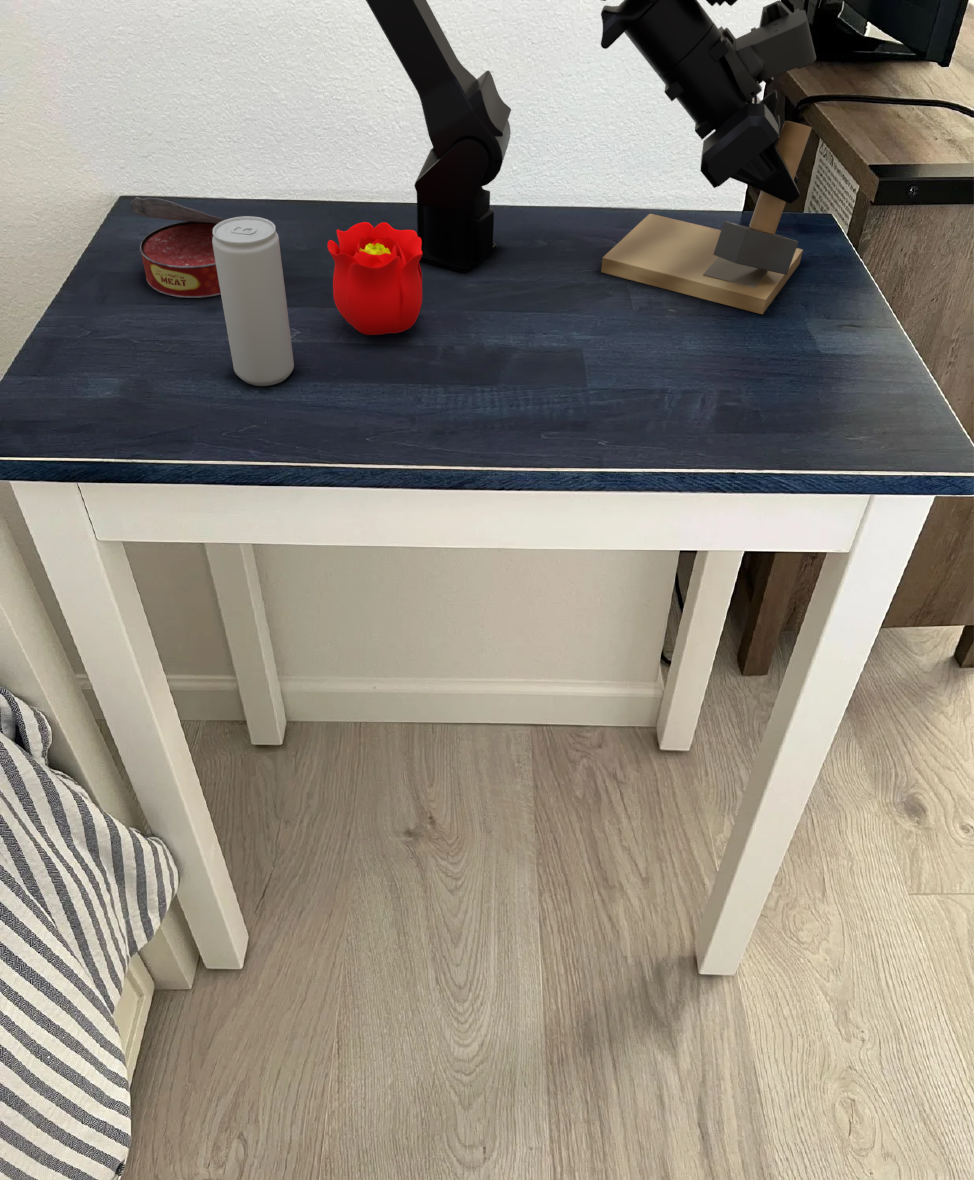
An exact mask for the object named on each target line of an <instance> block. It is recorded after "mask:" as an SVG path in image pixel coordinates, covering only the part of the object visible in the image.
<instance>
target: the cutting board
mask: <svg viewBox="0 0 974 1180" xmlns="http://www.w3.org/2000/svg"><path fill="white" fill-rule="evenodd" d="M720 232H721V229H717V228H713V227H709V226H705V225H700V224H697V223H691V222H688V221H684V220H679V219H674V218H671V217H667V216H663V215H657V214H654V213H648V214H647V215H646V216H645V217H644V218H643V219H642V220H641V221H640V222H639V223H638V224H637V225H636V226H635V227H634V228H633V229H631V230H630V231H629V232H628V233H627V234H626V235H625V236H624V237H623V238H622V239H621V240H620V241H619V242H617V243H616V244H615V245H614V246H613V247H612V248H611V249H610V250H609V251H608V252H607V253H606V254H605V255H604V256H602V260H601V268H600V273H603V274H606V275H611V276H614V277H618V278H622V279H624V280H628V281H629V280H630V281H633V282H637V283H641V284H645V285H648V286H653V287H656V288H660V289H663V290H667V291H670V292H675V293H679V294H683V295H686V296H691V297H694V298H698V299H702V300H706V301H708V302H709V301H710V302H712V303H717V304H721V305H725V306H728V307H733V308H736V309H740V310H744V311H747V312H751V313H756V314H760V315H763V314H764V313H765V312H766V311H767V310H768V308H769V306H770V305H771V304H772V302H773V301H774V299H775V298H776V297H777V295H779V293H780V292H781V290H782V289H783V287H784V286H785V285H786V283H787V282H788V280H789V279H790V278H791V276H792V275H793V274H794V272H795V271H796V270H797V268H798V267H799V265H800V264H801V259H802V257H803V256H802V255H803V251H804V249H802V248H799V247H797V248H796V251H795V253H794V256H793V259H792V262H791V265H790V267H789V270H788V273H787V275H785V274H780V273H776V272H772V271H767V270H763V269H758V268H754V267H750V266H745V265H741V264H736V263H733V262H731V261H728V260H726V259H723V258H720V257H718V256H715V255H713V254H714V251H715V248H716V245H717V242H718V239H719V236H720Z"/></svg>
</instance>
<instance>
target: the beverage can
mask: <svg viewBox="0 0 974 1180" xmlns="http://www.w3.org/2000/svg"><path fill="white" fill-rule="evenodd" d="M212 243H213V250H214V256H215V262H216V268H217V274H218V280H219V286H220V292H221V295H220V296H221V303H222V309H223V313H224V320H225V321H224V322H225V326H226V327H225V328H226V332H227V338H228V344H229V349H230V355H231V361H232V366H233V372H234V374H235V375H236V376H237V377H238V378H239V379H240V380H242V381H243V382H244V383H246V384H248V385H251V386H252V385H253V386H255V387H256V386H257V387H269V386H273V385H277V384H280V383H282V382H283V381H286V379H287V378H289V377H290V375H291V374H292V372H293V370H294V367H295V364H294V363H295V361H294V354H293V353H294V352H293V344H292V338H291V337H292V336H291V328H290V319H289V312H288V302H287V295H286V294H287V293H286V287H285V286H286V285H285V279H284V271H283V270H284V269H283V261H282V253H281V246H280V237H279V234H278V232H277V228H276V225H275V223H274V222H273V221H271V220H270V219H267V218H264V217H259V216H253V215H252V216H251V215H249V216H248V215H246V216H235V217H230V218H227V219H225V220H224V221H222V222H219V223H218V224H217V225H215V226H214V228H213V238H212Z"/></svg>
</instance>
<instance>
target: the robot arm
mask: <svg viewBox="0 0 974 1180" xmlns="http://www.w3.org/2000/svg"><path fill="white" fill-rule="evenodd" d="M601 1H603V2H606V1H607V0H601ZM705 1H706V2H707V3H708V4H709V5H710V6H711V7H714V6H715V5H716V4H717V5H718V6H719V7H721V6H722V5H724V3H726V4H727V5H728V6H730V7H732V6H733V5H734V4H736V3H737V2H738V0H705ZM365 2H366V3H367V5H368V7H369V9H370V10H371V12H372V14H373V16H374V17H375V20H376V21H377V23H378V25H379V26H380V28H381V30H382V32H383V34H384V35H385V37H386V39H387V41H388V43H389V44H390V47H391V48H392V49H393V51H394V53H395V55H396V56H397V59H398V60H399V61H400V64H401V66H402V67H403V69H404V71H405V72H406V74H407V76H408V78H409V80H410V81H411V84H412V85H413V87H414V88H415V90H416V92H417V94H418V97H419V100H420V104H421V108H422V112H423V117H424V121H425V125H426V130H427V135H428V137H429V140H430V143H431V145H432V148H431V149H430V150H429V152H428V154H427V157H426V159H425V161H424V163H423V165H422V168H421V170H420V171H419V174H418V176H417V178H416V181H415V182H414V189H415V191H416V224H417V227H416V228H417V236H418V237H420V238H421V240H422V246H421V250H422V252H423V254H422V257H421V259H420V261H421V262H425V263H429V264H432V265H435V266H439V267H443V268H446V269H450V270H454V271H458V272H462V273H467V272H469V271H470V270H472V269H473V268H474V267H475V266H477V264H479V263H480V262H481V261H483V260H484V259H485V258H487V257H488V256H489V255H490V254H492V253H493V252H494V251H496V250H497V244H498V243H496V242H494V225H495V222H494V221H495V212H494V209H493V208H491V191H490V190H487V189H485V188H483V187H485V186H487V185H489V184H490V183H491V182H493V181H494V180H495V179H496V178H497V176H498V175H499V173H500V171H501V169H502V166H503V163H504V159H505V156H506V153H507V150H508V146H509V144H510V139H511V134H512V133H511V124H510V122H509V121H510V120H509V118H510V115H511V112H512V109H511V107H510V106H509V105H507V104H506V103H505V101H504V100H503V99H502V97H501V96H500V94H499V91H498V89H497V87H496V86H497V85H496V83H495V80H494V77H493V75H492V73H491V71H490V70H486V71H484V72H483V73H482V74H481V75H480V76H479V77H478V78H476V77H475V76H474V75H473V74H472V73H471V72H470V71H469V70H468V69H467V68H465V66H464V65H463V64H462V63H461V61H459V59H458V57H457V55H456V53H455V52H454V50H453V47H452V46H451V44H450V42H449V40H448V38H447V36H446V34H445V33H444V31H443V29H442V27H441V25H440V23H439V21H438V19H437V18H436V16H435V14H434V11H432V8H431V6H430V5H429V3H428V1H427V0H365ZM600 17H601V21H602V33H601V39H600V47H601V48H602V49H604V50H607V49H609V48H610V47H611V46H612V45H613V44H614V43H615V42H616V41H617V40H618V39H619V38H620V37H621V36H622V35H623V34H625V35H626V37H627V38H628V39H629V40H630V42H631V43H632V44H633V45H634V47H635V48H636V50H637V51H638V52H639V53H640V54H641V55H642V57H643V58H644V60H645V61H646V62H647V63H648V65H649V66H650V67H651V68H652V70H653V71H654V72H655V73H656V74H657V76H658V78H660V80H661V81H662V82H663V84H664V85H665V86H664V91H663V92H664V94H665V95H666V96H667V98H668V99H669V100H670V102H673V101H675V100H677V101H678V103H679V104H680V105H681V107H682V108H683V109H684V110H685V111H686V113H687V114H688V115H689V117H690V118H691V119H692V121H693V122H694V123H695V125H694V132H695V133H696V134H697V135H698V137H699V138H700V139H701V141H703V142H702V150H701V155H700V156H701V157H700V169H699V170H700V172H701V174H702V175H703V177H705V179H706V181H708V183H709V184H710V185H711V186H712V187H713V188H714V189H716V188H718V187H721V186H722V185H723V184H724V183H725V182H727V181H728V180H729V179H732V180H735V181H737V182H739V183H742V184H745V185H747V186H750V187H752V188H754V189H757V190H759V191H760V192H761V191H763V192H765V193H768V194H770V195H772V196H774V197H776V198H778V199H781V200H783V201H785V202H786V203H788V204H792V203H794V202H796V200H798V199H799V198H800V197H801V192H800V190H799V188H798V186H797V184H798V183H799V178H798V175H797V174H796V175H795V178H794V180H793V178H792V176H791V174H790V172H789V170H788V168H787V165H786V163H785V161H784V159H783V157H782V155H781V153H780V151H779V149H778V147H777V142H778V139H779V136H780V132H781V121H780V115H779V114H777V115H776V113H777V112H776V111H777V107H778V106H777V105H778V93H777V90H776V89H774V90H772V91H771V92H769V93H768V94H766V95H765V97H763V98H762V99H760V97H759V96H758V95H759V94H760V93H761V92H763V88H762V86H761V84H762V83H763V82H764V83H765V84H766V85H767V86H769V85H770V84H771V83H773V82H774V81H775V80H774V77H777V76H779V75H783V74H784V73H787V72H790V71H792V70H795V69H798V70H801V69H803V68H805V67H808V66H810V65H812V64H814V62H815V61H816V60H817V55H816V52H815V47H814V43H813V37H812V33H811V29H810V25H809V20H808V16H807V12H806V10H805V9H801V10H800V7H799V8H796V9H794V12H792V11H791V10H790V9H789V8H788V7H787V6H786V5H785V4H784V3H783V2H782V1H781V0H776V1H774V2H772V3H769V4H767V5H764V6H763V7H762V11H761V15H760V20H759V21H760V22H759V26H758V27H757V28H756V27H755V26H754V27H752V28H750V31H749V32H747V33H745V34H743V35H741V36H739V37H736V36H734V34H733V33H732V31H731V30H730V29H729V28H728V27H725V28H724V27H723V26H722V25H721V26H720V27H719V28H718V26H717V25H716V23H715V22H714V21H713V20H712V18H711V17H710V16H709V14H708V13H707V12H706V10H705V9H704V7H703V6H702V5H701V3H700V2H699V1H698V0H623V1H622V2H621V3H620V4H619V5H612V6H611V5H603V7H602V9H601V12H600ZM709 134H710V135H709ZM708 135H709V136H708Z"/></svg>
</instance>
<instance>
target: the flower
mask: <svg viewBox="0 0 974 1180" xmlns="http://www.w3.org/2000/svg"><path fill="white" fill-rule="evenodd" d="M336 236H337V240H338V243H336V242H335V241H334V240H332V239H329V240H328V242H327V250H328V252H329V254H330V256H331V258H332V259H333V261H334V269H333V277H332V288H333V289H332V293H333V301H334V304H335V307H336V310H338V312H339V313H340V315H341V316H342V317H343V319H344V320H345V321H346V322H347V323H348V324H349V325H351V326H352V327H353V328H354V330H356V331H357V332H359V333H360V334H362V335H365V336H379V335H380V336H381V335H386V334H399V333H403V332H405V331H407V330H409V329H411V328H412V327H413V326H414V325H415V323H416V321H417V320H418V317H419V314H420V311H421V308H422V304H423V274H422V268H421V264H420V261H421V260H420V259H421V257H422V254H423V252H422V250H421V246H422V240H421V238H420V237H418V232H416V231H415V230H414V229H395V228H393V227H392V226H391V225H390V224H389V223H388V222H385V221H383V222H380V223H378V224H377V225H375V227H374V225H372V224H371V223H370V222H367V221H363V222H359V223H358V222H357V223H356V224H353V225H352V226H351V227H349V228H348V229H347V230H345V231H343V230H340V229H339V228H337V229H336Z"/></svg>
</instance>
